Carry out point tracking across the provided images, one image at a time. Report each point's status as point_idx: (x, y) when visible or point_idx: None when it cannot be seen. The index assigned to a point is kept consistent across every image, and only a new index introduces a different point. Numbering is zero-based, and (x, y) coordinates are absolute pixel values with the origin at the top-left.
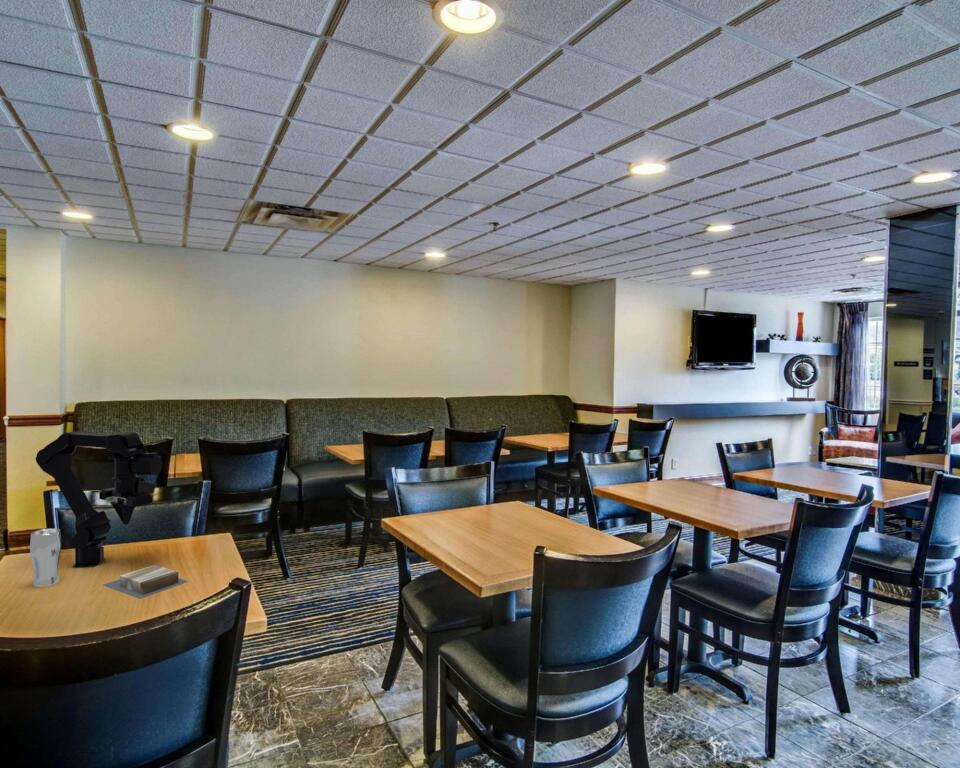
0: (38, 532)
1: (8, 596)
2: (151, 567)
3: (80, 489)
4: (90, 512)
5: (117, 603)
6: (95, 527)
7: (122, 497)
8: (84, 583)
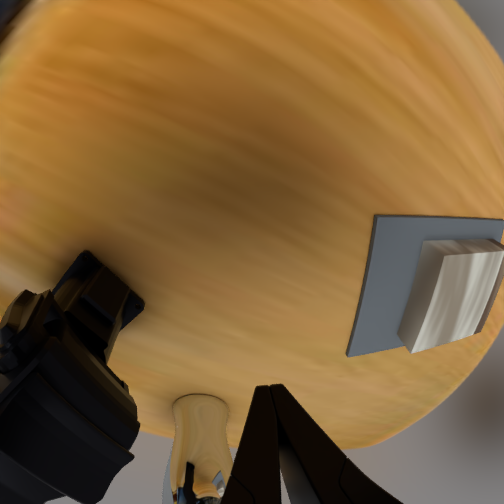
0: None
1: None
2: (448, 275)
3: None
4: (26, 481)
5: (439, 354)
6: (115, 441)
7: None
8: (279, 371)
